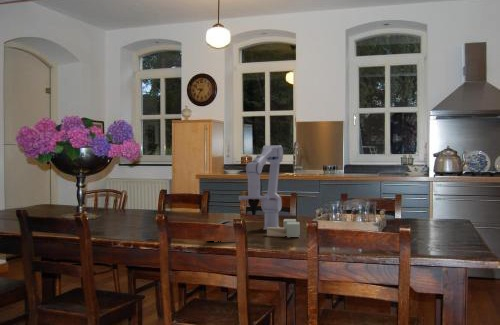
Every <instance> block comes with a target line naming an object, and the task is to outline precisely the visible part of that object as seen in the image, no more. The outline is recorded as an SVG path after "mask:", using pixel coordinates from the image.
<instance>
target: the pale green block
mask: <svg viewBox="0 0 500 325" xmlns="http://www.w3.org/2000/svg"><path fill="white" fill-rule="evenodd" d="M287 222H297V219H296V218H284V219H283V227H286V228H287Z"/></svg>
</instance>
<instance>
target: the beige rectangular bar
mask: <svg viewBox="0 0 500 325" xmlns="http://www.w3.org/2000/svg"><path fill="white" fill-rule="evenodd" d="M266 236H267V237H285V236H287V228H286V227H281V226H280V227H267V230H266Z"/></svg>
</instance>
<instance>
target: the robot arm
mask: <svg viewBox="0 0 500 325" xmlns="http://www.w3.org/2000/svg"><path fill="white" fill-rule="evenodd" d="M283 157H284V149H283V146H282V145H281V144H280V145H279V144H278V145H276V144H275V145H273V144H272V145H266V144H265V145H263V147H262V151H261V154H257V155H256V156H255V158H254V159H252V161H250V162H247V163H246V164H245V165H246V166H245V171H246V177H247V195H238V201H247V203H248V205H249V207H250V210H251V214H252V216H256V215H257V208H258V206H259V204H260V206H261V210H262V211H263V213H264V227H263V228H262V229H263V230H265V231H267V227H281V226H279V212H281V210H282V209H283V208H282V207H283V206H282V205H283V202H282V197H281V196H280V195H279V194H278V184H279V175H280V174H279V173H280V165H281V164H280V163H281V162H283V159H284V158H283ZM267 162H268V163H269V175H268V184H267V185H268V186H267V193H266V194H264V195H260V194H261V188H260V187H261V184H260V183H261V179H260V178H261V175H260V174H261V173H262V171H263V167H264V166H265V165H266V164H267ZM260 201H261V203H260Z"/></svg>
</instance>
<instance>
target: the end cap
mask: <svg viewBox="0 0 500 325" xmlns="http://www.w3.org/2000/svg"><path fill="white" fill-rule="evenodd" d="M300 226H301V225H300V221H296V222H287V237H286V238H290V237H299V238H300V236H299V235H300V232H301V231H300V229H301V228H300Z"/></svg>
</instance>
